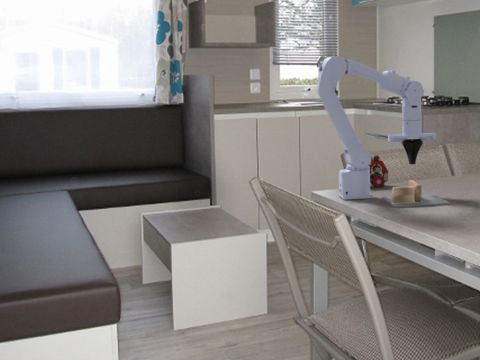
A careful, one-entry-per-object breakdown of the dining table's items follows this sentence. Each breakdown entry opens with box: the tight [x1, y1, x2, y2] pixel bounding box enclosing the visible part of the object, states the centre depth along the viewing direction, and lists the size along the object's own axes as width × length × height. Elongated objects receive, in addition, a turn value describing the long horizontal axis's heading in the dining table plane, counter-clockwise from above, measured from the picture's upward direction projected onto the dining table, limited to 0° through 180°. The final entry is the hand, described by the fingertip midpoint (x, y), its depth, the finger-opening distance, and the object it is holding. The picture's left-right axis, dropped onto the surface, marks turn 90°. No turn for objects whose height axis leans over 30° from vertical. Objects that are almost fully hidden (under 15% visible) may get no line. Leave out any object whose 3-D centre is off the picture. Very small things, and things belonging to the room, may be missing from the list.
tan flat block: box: [408, 179, 420, 187], centre depth 210 cm, size 8×1×4 cm, turn 178°
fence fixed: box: [391, 184, 422, 203], centre depth 205 cm, size 8×2×5 cm, turn 93°
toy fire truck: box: [368, 155, 389, 189], centre depth 237 cm, size 7×12×10 cm, turn 91°
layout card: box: [381, 193, 451, 208], centre depth 209 cm, size 16×14×1 cm
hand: (412, 164), depth 219 cm, fingers closed
